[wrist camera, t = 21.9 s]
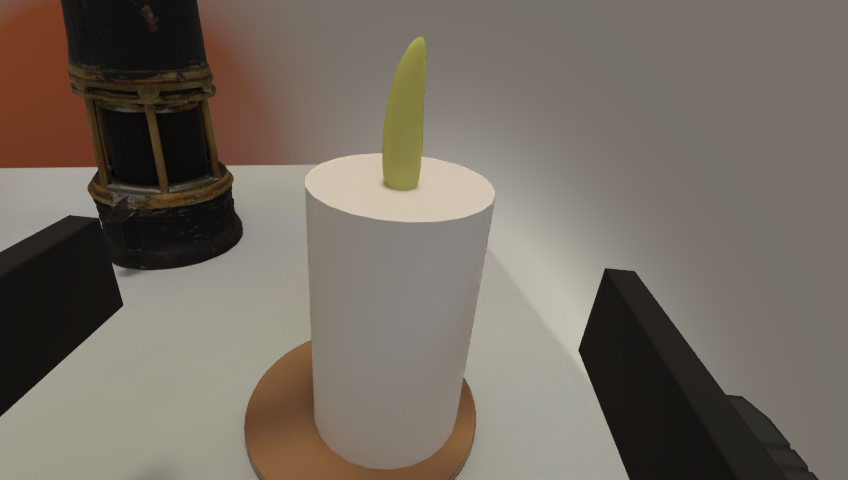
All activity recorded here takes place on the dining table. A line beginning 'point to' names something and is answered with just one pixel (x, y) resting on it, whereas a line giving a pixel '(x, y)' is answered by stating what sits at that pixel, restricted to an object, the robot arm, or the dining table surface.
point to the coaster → (308, 453)
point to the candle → (393, 286)
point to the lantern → (151, 131)
